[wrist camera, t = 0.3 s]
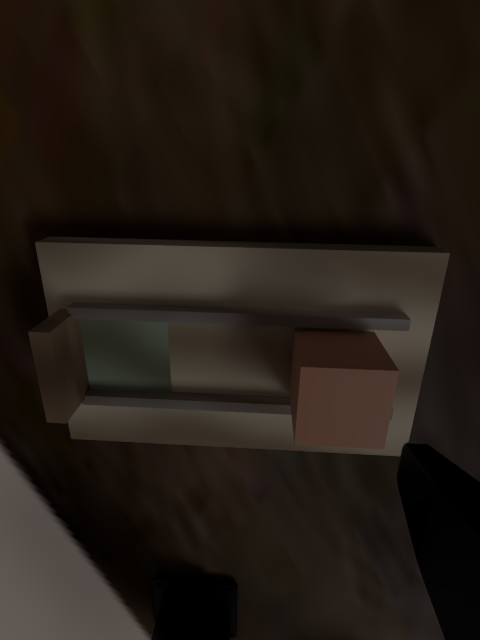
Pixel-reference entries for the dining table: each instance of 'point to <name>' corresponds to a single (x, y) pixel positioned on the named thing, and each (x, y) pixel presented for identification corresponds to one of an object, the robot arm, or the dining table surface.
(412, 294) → the track board
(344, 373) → the terracotta cardboard box
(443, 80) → the dining table surface
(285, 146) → the dining table surface
